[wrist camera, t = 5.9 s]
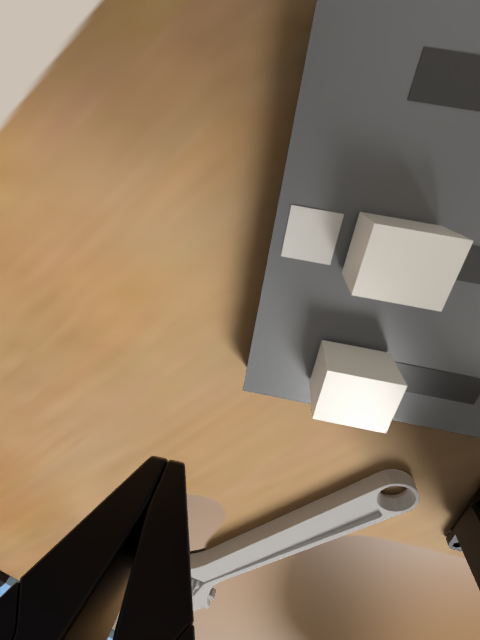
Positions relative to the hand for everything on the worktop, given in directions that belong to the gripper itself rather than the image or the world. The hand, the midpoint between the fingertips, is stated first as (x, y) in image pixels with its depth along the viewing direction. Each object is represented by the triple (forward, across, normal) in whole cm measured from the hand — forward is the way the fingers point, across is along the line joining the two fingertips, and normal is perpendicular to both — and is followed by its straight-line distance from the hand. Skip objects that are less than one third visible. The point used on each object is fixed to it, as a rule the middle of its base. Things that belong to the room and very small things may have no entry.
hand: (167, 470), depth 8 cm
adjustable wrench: (+11, -5, +19) cm, 22 cm away
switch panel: (+10, -8, -5) cm, 14 cm away
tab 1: (+8, -6, +1) cm, 10 cm away
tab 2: (+8, -6, -5) cm, 11 cm away
